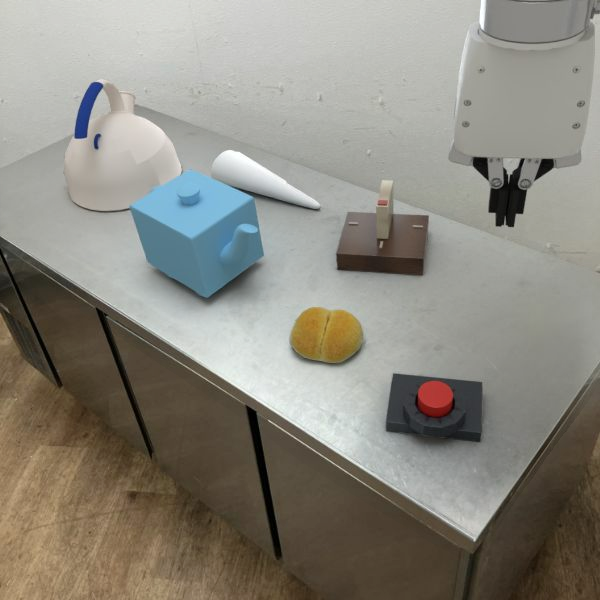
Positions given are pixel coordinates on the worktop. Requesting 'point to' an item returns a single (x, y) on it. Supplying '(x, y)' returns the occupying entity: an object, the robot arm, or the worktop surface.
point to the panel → (383, 244)
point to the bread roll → (326, 335)
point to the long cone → (256, 179)
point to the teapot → (198, 231)
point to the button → (435, 399)
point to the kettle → (116, 153)
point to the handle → (384, 209)
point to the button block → (410, 420)
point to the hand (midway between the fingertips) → (504, 217)
